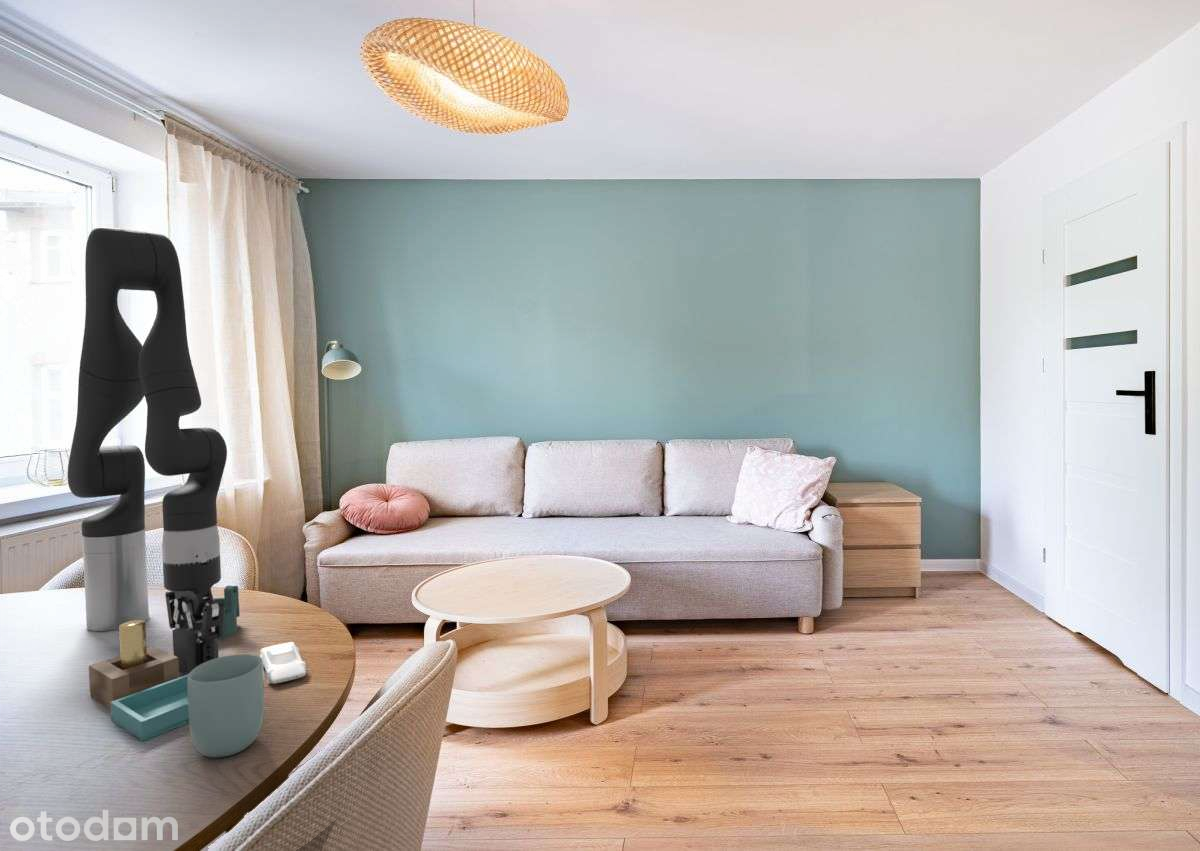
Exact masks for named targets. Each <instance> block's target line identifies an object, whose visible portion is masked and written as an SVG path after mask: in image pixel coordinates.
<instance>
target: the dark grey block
mask: <svg viewBox="0 0 1200 851" xmlns="http://www.w3.org/2000/svg"><path fill="white" fill-rule="evenodd" d="M201 622H202V621H201ZM198 623H200V622H198ZM214 628H215V627H214ZM200 630H201V634H202V627H201V628H200ZM171 632H172V649H173V650H172V651H173V653H172V655H174V656H176V657H178V664H179V671H181V672H182V673H184V674H186V675H188V674H189V673H190V672H191V671H192V670H193V669H194V668H196V667H197V659H196V644H197V643H196V639H195V635H194V631H193V630H190V629H189V625H188V626H184V627H181V628H178V629H175V628H173V629H172V631H171ZM213 645H214V659H215V658H219V656H220V655H219V639H215V640H213Z"/></svg>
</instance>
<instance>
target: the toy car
mask: <svg viewBox="0 0 1200 851" xmlns="http://www.w3.org/2000/svg"><path fill="white" fill-rule="evenodd" d="M259 657H260V658H261V659H262V661H263V669H264V670H265V673H266V677H265V678H266V682H267V685H271V684H275V685H276V684H279V683H284V682H288V681H292V680H296V679H300V678H303V677H305V676H306V675H307V667H306V665H307V664H306V662H305V661H303V659H302V657H301V655H300V649H299V647H298V646H296V645H295V642H293V641H289V642H288V641H287V642H282V643H278V644H275V645H270V646H265V647H263V648H260V651H259Z"/></svg>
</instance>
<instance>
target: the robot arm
mask: <svg viewBox="0 0 1200 851" xmlns="http://www.w3.org/2000/svg"><path fill="white" fill-rule="evenodd" d="M84 257H85V258H84V262H85V265H84V266H85V267H84V270H85V278H84V279H85V318H84V331H83V338H82V339H83V340H82V345H81V354H80V361H79V368H78V369H79V370H78V381H77V382H78V384H77V385H78V386H77V410H76V412H77V413H76V419H75V420H76V421H75V427H74V431H73V432H74V433H73V437H72V441H71V447H70V453H69V459H68V464H67V465H68V466H67V484H68V488H69V490H70V493H72V494H73V495H74V496H75V497H78V498H81V499H83V498H84V499H89V498H91V499H93V498H102V497H112V496H113V497H114V496H120V497H119V498H118V500H117V501H116V502H115V503H114V504H112V505H111V506H110V507H108V508H105V509H104V510H102V511H100V512H98V513H95V514H93V515H91V516H87V517H86V518H84V520H83V521H82V522H81V539H82V540H81V541H82V556H83V557H82V558H83V577H84V596H85V597H84V598H85V617H86V618H85V621H86V622H85V623H86V629H87V630H89V631H93V632H100V631H101V632H103V631H104V632H105V631H112V630H113V631H114V630H119V626H120V625H121V624H123V623H126V622H129V621H135V620H144V621H146V620H148V619H149V616H150V611H149V608H150V606H149V587H148V585H149V584H148V566H147V565H148V562H147V560H148V559H147V544H146V520H145V517H146V516H145V515H146V509H145V508H146V507H145V486H146V485H145V484H146V483H145V482H146V465H145V464H146V462H147V463H148V465H149V466H150V468H151V469H152V470H153V471H154V472H156V473H157V474H158V475H162V476H165V477H167V476H169V477H173V476H180V475H187V474H189V475H188V477H187V479H186V482H185V483H184V484H183V485H182V486H180V487H179V488H176V489H173V490H170V491H169V492H166V494H164V496H163V498H162V507H161V508H162V522H163V524H162V525H163V526H162V527H163V530H162V532H163V534H162V543H161V544H162V545H161V547H162V548H161V552H162V573H163V587H164V588H165V589H166V590H167V591H166V592H165V602H166V609H167V617H168V618H167V619H168V625H169V626H168V627H169V628H170V629H172V630H174V629H178V628H181V627H184V626H188V625H189V629H190V630H193V631H194V635H195V639H196V643H197V644H196V659H197V666H199V665H200V664H202V663H204V662H207V661H209V660H212V659H214V645H213V640H215V639H218V638H221V637H222V628H223V614H224V604H223V602H218V603H215V602H214V600H213V598H214V596H213V592H212V587H214V585H217V584H219V582H220V581H221V578H222V570H221V568H222V566H221V564H222V563H221V545H220V543H221V542H220V540H221V539H220V534H219V528H218V514H217V513H218V511H217V499H218V498H217V497H218V494H219V490H220V487H221V482H222V479H223V474H224V472H225V467H226V462H227V458H228V449H227V447H228V446H227V445H226V441H225V439H224V437H223V435H222V434H221V433H220V432H219V431H217V430H216V429H215V428H212V427H192V428H191V427H190V428H180V424H179V423H180V417H183V416H189V415H191V414H193V413H195V412H197V411H198V410H199V409H200V408H201V406H202V399H201V398H202V397H201V393H200V390H199V386H198V382H197V378H196V375H195V371H194V367H193V364H192V359H191V355H190V348H189V344H188V343H189V342H188V341H189V340H188V334H187V321H186V320H187V319H186V310H185V301H184V300H185V299H184V289H183V282H182V271H181V265H180V260H179V256H178V253H177V250H176V248H175V245H174V243H173V242H172V240H171V239H170V238H169V237H167V236H166V235H165V234H162V233H158V232H156V233H155V232H152V231H151V232H150V231H143V230H142V231H141V230H135V229H134V230H133V229H126V228H118V227H117V228H116V227H110V226H108V227H107V226H96V227H95V228H93V229H92V230H91V232H89V235H88V237H87V241H86V246H85V256H84ZM121 290H124V291H125V290H126V291H127V290H129V291H130V290H131V291H146V292H148V291H149V292H153V293H154V295H155V298H156V306H157V310H156V315H155V319H154V321H153V324H152V326H151V328H150V330H149V333H148V334H147V337H146V338H145V341H144V343H143V344H142V343H141V341H140V340H139V339H138V338H137V336H136V335H135V334H134V332H133V331H132V330H131V328H130V327H129V326H128V324H127V323H126V321H125V319H124V318H123V316H122V315H121V312H120V309H119V303H118V296H119V291H121ZM144 398H145V401H146V407H147V410H146V412H147V413H146V431H145V442H144V454H145V458H146V462H145V458H144V454H143V452H142V450H141V448H139V447H138V446H137V445H134V444H123V445H106V446H103V445H102V444H103V442H104V440H105V439H106V437H107V436H108V434H109V433H110V432H111V431H112V430H113V429H114V428H115V427H116V426H117V425H118V424H120V422H121V421H124V419H125V418H126V417H127V416H128V415H129V414H130V413H132V412H133V411H134V410H135V409H136V407H137V406H139V404H141V402H142V401H143V399H144ZM202 619H203V620H202ZM198 620H202V622H200V623H196V621H198ZM201 627H202V634H201V630H200V628H201ZM214 627H215V628H214ZM221 639H222V638H221ZM218 640H219V639H218Z"/></svg>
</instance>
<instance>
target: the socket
mask: <svg viewBox="0 0 1200 851" xmlns="http://www.w3.org/2000/svg"><path fill="white" fill-rule="evenodd" d="M146 648H147V663H144V664H141V665H138V666H135V667H132V668H129V669H126V670H121V656H120V655H117V656H114V657H111V658H108V659H105V660H101V661H97V662H95V663H91V664H88V678H89V680H88V681H89V696H90V697H91V698H93V699H94V700H95V701H97V702H98V703H100V704H101V705H103V706H105V707H106V708H107V709H110V710H111V703H110V702H112V701H114V700H117V699H120V698H123V697H126V696H129V695H131V694H134V693H137V692H140V691H143V690H145V689H148V688H151V687H154V686H157V685H159V684H162V683H165V682H168V681H171V680H174V679H176V678H179V677H180V670H179V664H178V657H176V656H174V655H173V653H169V652H168V651H166V650H164V649H162V648H160V647H157V646H155V645H154V644H153V645H150V646H146Z"/></svg>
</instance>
